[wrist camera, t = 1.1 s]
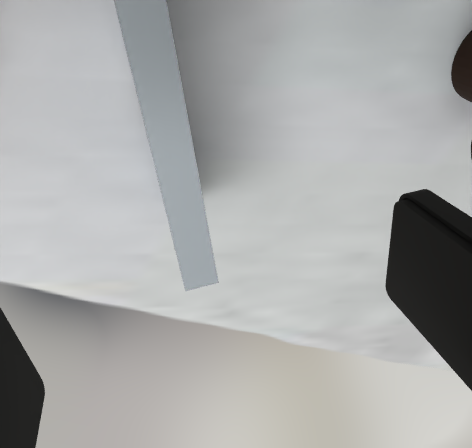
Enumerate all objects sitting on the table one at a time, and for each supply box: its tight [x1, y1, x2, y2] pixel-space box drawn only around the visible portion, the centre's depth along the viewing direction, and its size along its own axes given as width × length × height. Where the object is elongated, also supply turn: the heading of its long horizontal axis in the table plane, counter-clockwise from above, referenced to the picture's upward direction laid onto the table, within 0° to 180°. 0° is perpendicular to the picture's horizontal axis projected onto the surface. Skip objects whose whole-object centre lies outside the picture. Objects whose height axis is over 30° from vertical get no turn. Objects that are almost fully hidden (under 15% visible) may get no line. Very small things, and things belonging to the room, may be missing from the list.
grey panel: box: [114, 0, 219, 291], centre depth 23 cm, size 18×2×11 cm, turn 7°
